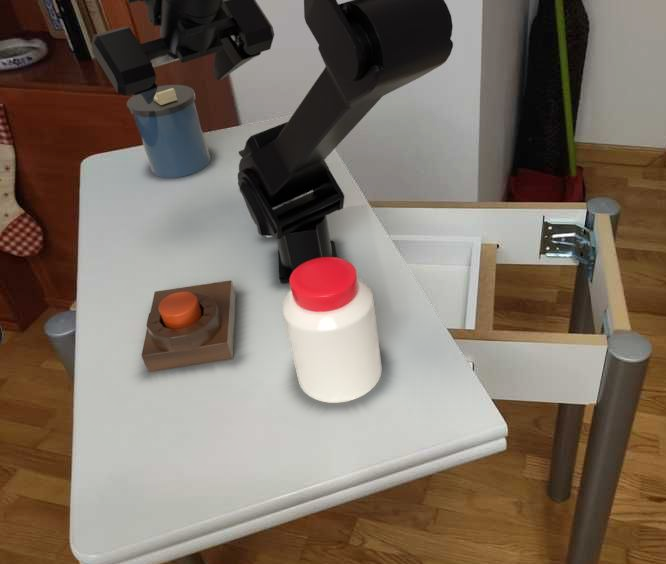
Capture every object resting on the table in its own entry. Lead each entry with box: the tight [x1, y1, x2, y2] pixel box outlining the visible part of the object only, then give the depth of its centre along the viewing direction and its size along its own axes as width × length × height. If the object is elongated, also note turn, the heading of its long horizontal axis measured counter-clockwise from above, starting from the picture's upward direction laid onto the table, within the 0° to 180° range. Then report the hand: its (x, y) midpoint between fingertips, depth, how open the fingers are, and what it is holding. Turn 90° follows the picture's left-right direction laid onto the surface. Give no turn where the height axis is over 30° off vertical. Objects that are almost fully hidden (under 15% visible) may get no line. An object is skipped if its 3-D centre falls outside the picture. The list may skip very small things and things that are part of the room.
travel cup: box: [126, 84, 211, 179], centre depth 92 cm, size 9×9×10 cm
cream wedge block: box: [153, 88, 177, 105], centre depth 87 cm, size 3×2×2 cm
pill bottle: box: [281, 257, 383, 404], centre depth 57 cm, size 8×8×11 cm
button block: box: [141, 280, 237, 373], centre depth 65 cm, size 10×8×4 cm
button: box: [158, 292, 202, 329], centre depth 62 cm, size 4×4×2 cm
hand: (182, 88), depth 78 cm, fingers open, 9 cm apart
